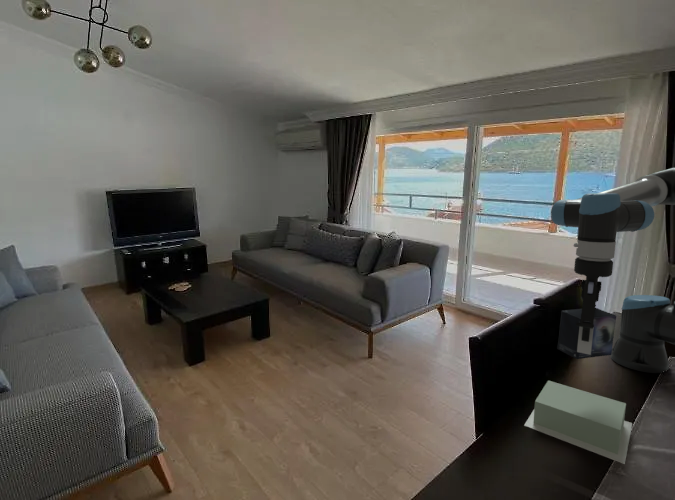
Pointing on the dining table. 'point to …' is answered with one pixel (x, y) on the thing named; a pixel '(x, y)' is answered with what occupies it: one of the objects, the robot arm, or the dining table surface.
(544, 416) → the base brick
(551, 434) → the baseplate
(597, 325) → the small box
